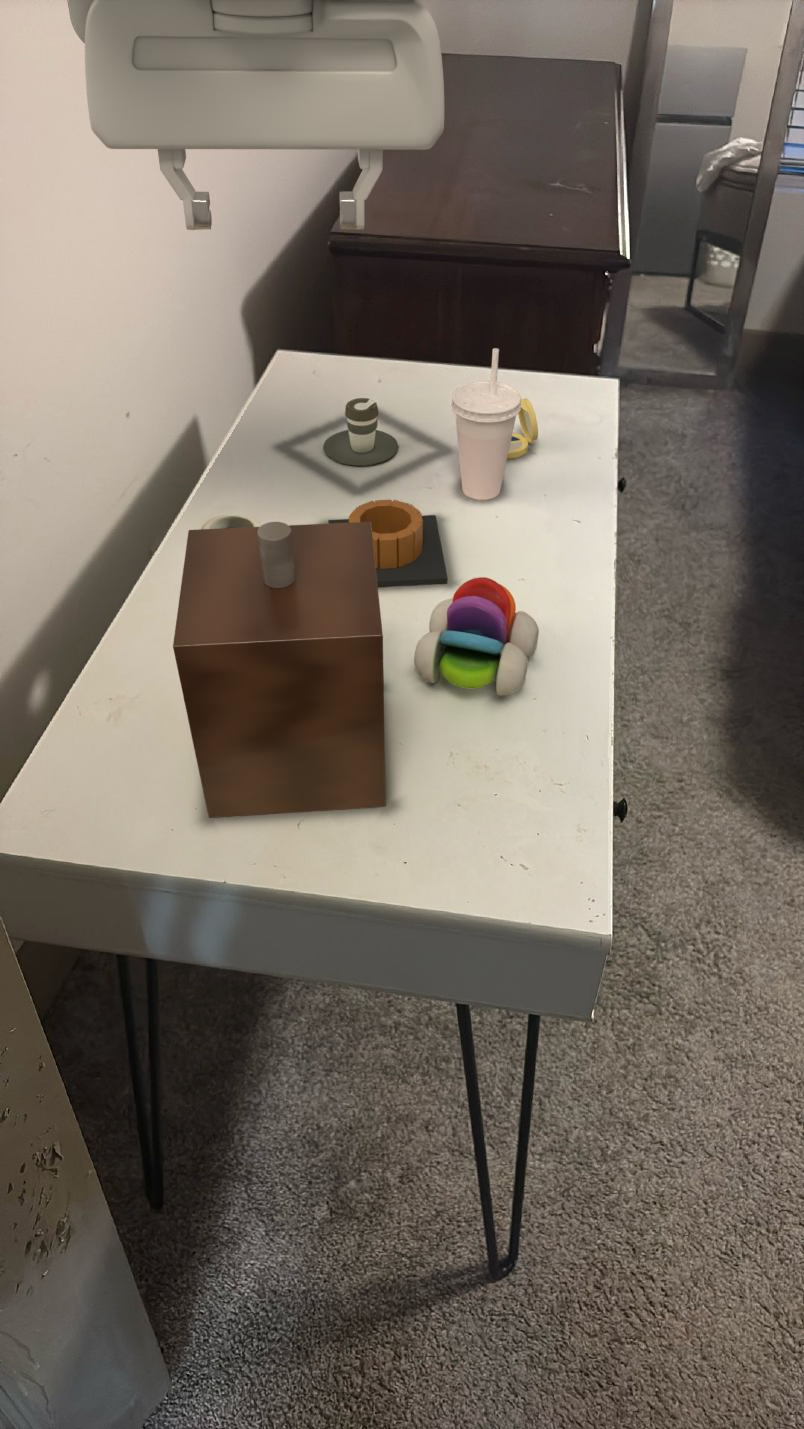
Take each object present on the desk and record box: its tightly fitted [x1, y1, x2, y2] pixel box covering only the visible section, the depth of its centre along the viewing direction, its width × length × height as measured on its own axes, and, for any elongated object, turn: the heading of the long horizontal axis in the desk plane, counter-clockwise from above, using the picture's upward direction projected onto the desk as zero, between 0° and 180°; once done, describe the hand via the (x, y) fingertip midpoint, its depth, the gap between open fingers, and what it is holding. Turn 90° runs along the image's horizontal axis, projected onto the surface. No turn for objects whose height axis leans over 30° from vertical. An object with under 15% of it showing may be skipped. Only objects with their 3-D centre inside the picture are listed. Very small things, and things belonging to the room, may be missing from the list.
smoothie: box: [450, 347, 522, 501], centre depth 93 cm, size 6×6×14 cm
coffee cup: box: [322, 397, 399, 467], centre depth 102 cm, size 12×12×5 cm
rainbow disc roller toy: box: [413, 576, 540, 696], centre depth 76 cm, size 8×10×7 cm
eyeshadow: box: [507, 397, 539, 459], centre depth 102 cm, size 4×5×5 cm
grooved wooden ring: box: [348, 499, 423, 569], centre depth 88 cm, size 6×6×3 cm
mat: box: [327, 514, 448, 588], centre depth 89 cm, size 10×10×1 cm
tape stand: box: [172, 521, 387, 818], centre depth 65 cm, size 12×12×18 cm
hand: (276, 227), depth 62 cm, fingers open, 8 cm apart
